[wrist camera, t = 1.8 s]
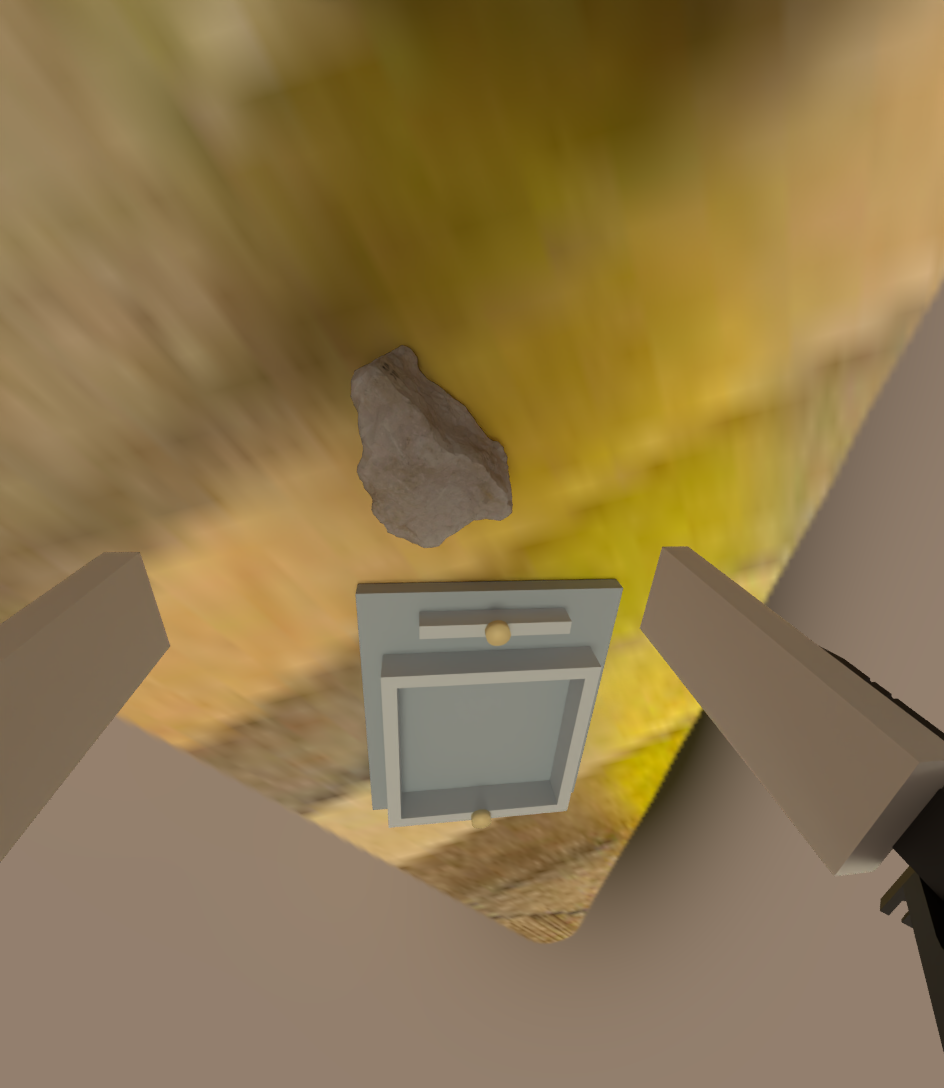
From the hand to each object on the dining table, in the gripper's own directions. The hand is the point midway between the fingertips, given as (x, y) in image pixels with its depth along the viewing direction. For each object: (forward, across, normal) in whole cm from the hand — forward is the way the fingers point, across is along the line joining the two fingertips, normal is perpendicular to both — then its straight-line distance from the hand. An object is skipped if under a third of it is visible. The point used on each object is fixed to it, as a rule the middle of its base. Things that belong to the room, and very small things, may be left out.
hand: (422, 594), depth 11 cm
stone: (+16, 0, +1) cm, 16 cm away
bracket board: (+15, +5, -20) cm, 25 cm away
